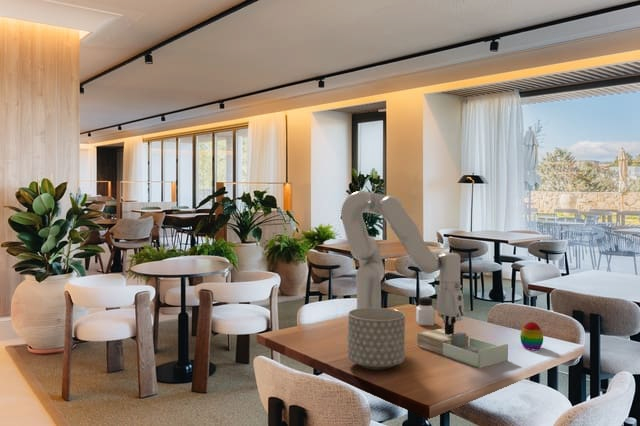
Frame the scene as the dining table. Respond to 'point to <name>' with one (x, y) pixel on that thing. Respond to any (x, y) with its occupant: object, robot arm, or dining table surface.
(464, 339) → the tile rear
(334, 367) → the dining table surface
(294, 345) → the dining table surface
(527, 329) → the decorative egg
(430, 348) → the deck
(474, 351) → the tile front
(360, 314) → the planter
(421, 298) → the medicine bottle
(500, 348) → the tray
